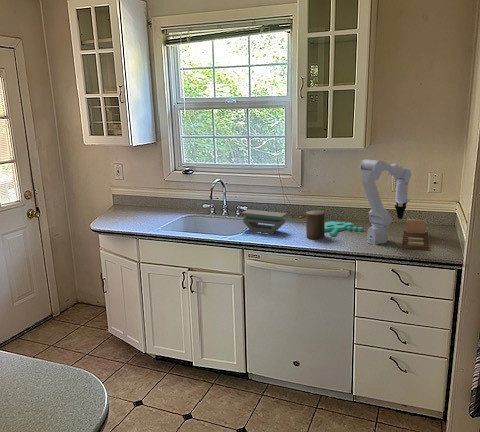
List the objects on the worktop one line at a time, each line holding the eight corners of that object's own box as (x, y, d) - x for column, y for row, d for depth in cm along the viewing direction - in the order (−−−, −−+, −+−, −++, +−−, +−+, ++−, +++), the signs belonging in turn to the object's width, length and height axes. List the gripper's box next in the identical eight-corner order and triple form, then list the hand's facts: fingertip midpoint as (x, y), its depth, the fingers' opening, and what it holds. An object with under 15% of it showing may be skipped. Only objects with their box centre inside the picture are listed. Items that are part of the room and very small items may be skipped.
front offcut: (423, 249, 212) (423, 243, 211) (407, 248, 214) (407, 242, 214) (423, 248, 213) (423, 242, 213) (407, 246, 216) (407, 241, 215)
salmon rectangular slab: (424, 236, 229) (425, 220, 227) (406, 235, 232) (407, 219, 230) (424, 235, 231) (425, 220, 228) (406, 234, 234) (407, 219, 231)
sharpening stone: (287, 231, 251) (287, 213, 248) (281, 235, 245) (281, 216, 242) (248, 227, 263) (247, 209, 261) (242, 230, 257) (241, 212, 254)
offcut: (423, 244, 218) (423, 239, 217) (407, 243, 220) (408, 238, 220) (423, 243, 219) (423, 238, 218) (407, 242, 222) (408, 237, 221)
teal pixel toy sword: (363, 231, 246) (342, 223, 264) (363, 228, 245) (342, 219, 263) (332, 237, 239) (313, 228, 257) (332, 233, 239) (313, 224, 257)
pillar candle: (325, 239, 235) (325, 211, 231) (306, 239, 236) (306, 212, 232) (323, 234, 244) (323, 207, 241) (305, 234, 245) (305, 207, 241)
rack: (430, 252, 209) (430, 247, 208) (400, 250, 214) (400, 245, 213) (428, 236, 232) (429, 231, 231) (402, 234, 237) (402, 230, 236)
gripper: (409, 194, 221) (408, 220, 225) (410, 188, 234) (409, 213, 238) (394, 194, 224) (393, 220, 227) (396, 188, 237) (395, 212, 240)
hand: (400, 216), depth 233 cm, fingers open, 7 cm apart
